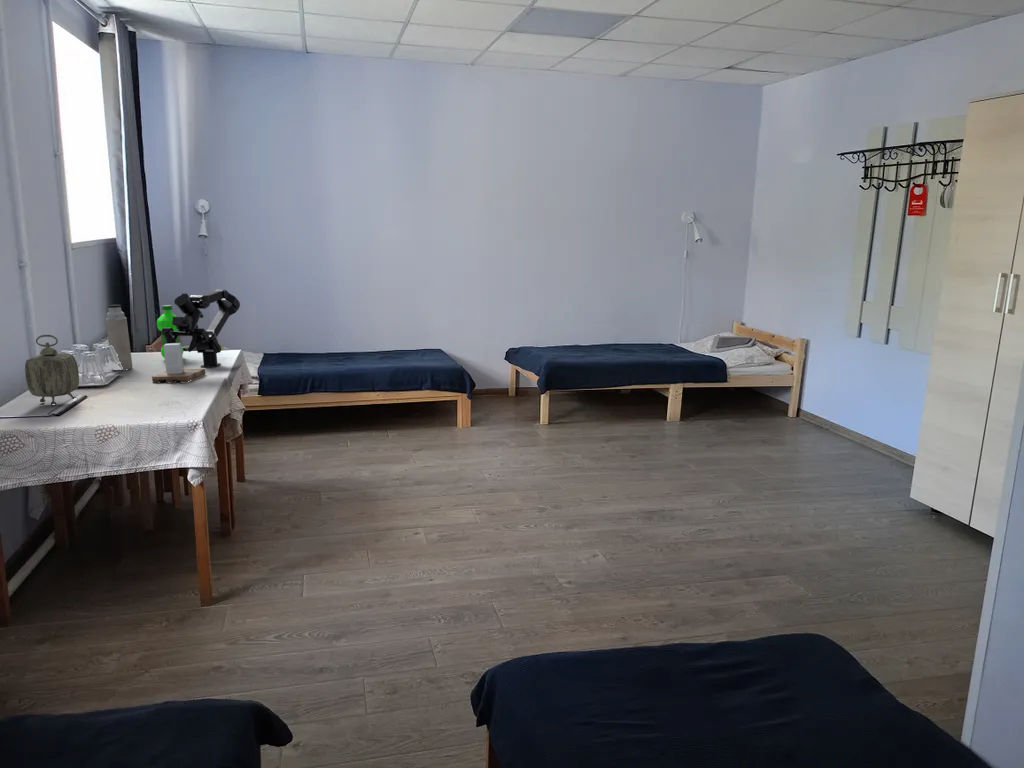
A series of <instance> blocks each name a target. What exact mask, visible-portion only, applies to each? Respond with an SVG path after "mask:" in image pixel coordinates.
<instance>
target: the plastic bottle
mask: <svg viewBox="0 0 1024 768" xmlns="http://www.w3.org/2000/svg"><path fill="white" fill-rule="evenodd" d="M161 307H162V311H163V314H162V315H160V316H159V318H157V320H156V327H157V330H158V331H160V332H161V331H162V329H163V328H172V329H173V330H174V331H179V329H177V328H176V326H175V325H172V320H173V317H178V316H177V315H176V314H174V313H173V312H172V310H173V305H172V304H164V305H161ZM160 337H161V344H162V345H161V348H160V355H161V356H162V357H163V358H164V359H165V355H164V347H163V345H165V344H167V339H166V338H165V337H164V336H163V335H162V334H161V333H160ZM180 337H181V336H177V339H176V342H175V343H181V338H180ZM181 348H182V356H183V355H184V348H183V346H182V345H181Z"/></svg>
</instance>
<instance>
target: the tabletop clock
mask: <svg viewBox="0 0 1024 768" xmlns="http://www.w3.org/2000/svg"><path fill="white" fill-rule="evenodd" d="M46 337H48V338H52V339H54V340H55V342H54V343H52V344H50V342H46V343H45V344H40V343H39V342H38V340H39V339H41V338H46ZM58 342H59V340H58V338H57V337H56V336H55V335H52V334H41V335H39V336H38V337H36V339H35V343H36V344H37V345H38V346H40V347H44V348H42V349H41V351H40V353H39V354H38V355H35V356H33V357H31V358H29V359H26V360H25V364H24V372H25V374H24V375H25V381H26V384H27V388H28V391H29V392H30V394H31V395H32V396H35V397H40V399H39V402H40V403H41V402H44V403H45V402H46V399H45V398H46V397H47V398H51V402H50V405H51V406H52V404H56V405H57V402H56V401H55V397H62V396H67V395H68V396H69V397H70V398H72V399H74V398H77V397H76V396H73V394H72V392H74V391H76V390H77V389H78V388H79V386H80V385H79V384H80V371H79V366H78V363H77V360H76V358H75V356H74V355H73V354H71V353H67V352H58V351H57V350H56V349H55V348H54V346H56V345H57V344H58Z"/></svg>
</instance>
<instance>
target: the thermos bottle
mask: <svg viewBox="0 0 1024 768" xmlns="http://www.w3.org/2000/svg"><path fill="white" fill-rule="evenodd" d="M107 307H108V312H107V313H106V318H105V324H106V325H105V326H106V333H107V339H108V340H107V341H108V346H109V345H112V346H114V347H115V349H116V352H117V354H118V358H119V361H120V362H121V365H122V367H123V369H125V370H124V371H127V370H126V369H129V370H131V369H130V368H132V367H134V366H133V360H132V351H131V342H130V336H129V328H128V320H127V319H128V318H127V317H126V316H125V312H123V311H122V305H121V304H109V305H107ZM132 369H133V368H132Z"/></svg>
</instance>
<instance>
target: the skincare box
mask: <svg viewBox="0 0 1024 768" xmlns="http://www.w3.org/2000/svg"><path fill="white" fill-rule="evenodd" d="M181 346H182V343H181V342H180V343H171V344H165V345H163V347H164V355H165V358H164V363H165V371H167V374H179V373H183V372H184V368H185V367H184V366H185V365H184V358H183V357H184V356H183V355H182V348H183V347H182V348H181Z"/></svg>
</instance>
